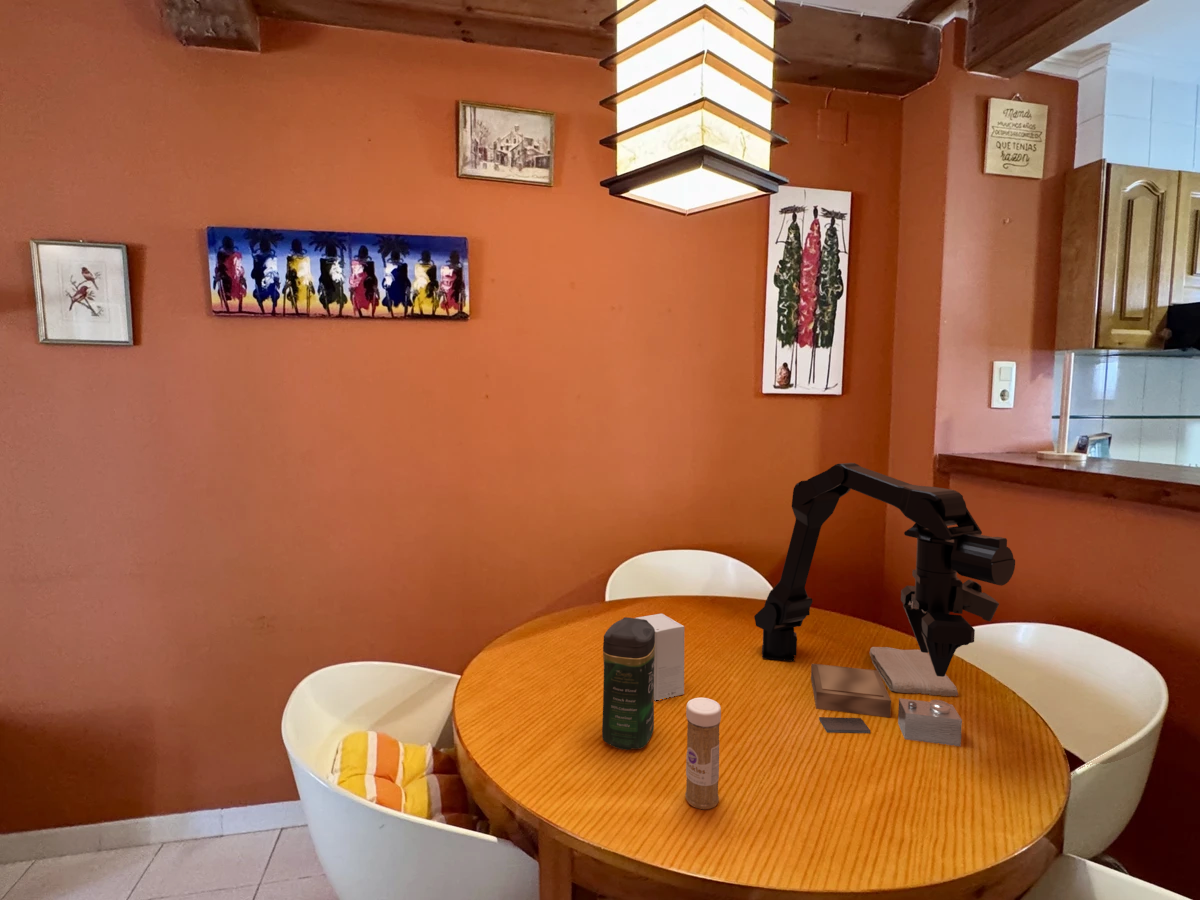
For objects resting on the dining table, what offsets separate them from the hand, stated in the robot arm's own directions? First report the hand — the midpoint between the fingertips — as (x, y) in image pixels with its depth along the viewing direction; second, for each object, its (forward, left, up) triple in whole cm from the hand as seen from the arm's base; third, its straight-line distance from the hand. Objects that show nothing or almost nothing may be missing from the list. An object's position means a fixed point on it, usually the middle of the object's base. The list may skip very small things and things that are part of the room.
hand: (932, 663), depth 97 cm
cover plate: (-13, -1, -12) cm, 18 cm away
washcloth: (+2, +23, -12) cm, 26 cm away
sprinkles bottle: (-34, -26, -12) cm, 45 cm away
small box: (-45, +4, -12) cm, 47 cm away
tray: (-11, +10, -12) cm, 19 cm away
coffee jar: (-47, -13, -12) cm, 50 cm away
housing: (0, 0, -12) cm, 12 cm away
